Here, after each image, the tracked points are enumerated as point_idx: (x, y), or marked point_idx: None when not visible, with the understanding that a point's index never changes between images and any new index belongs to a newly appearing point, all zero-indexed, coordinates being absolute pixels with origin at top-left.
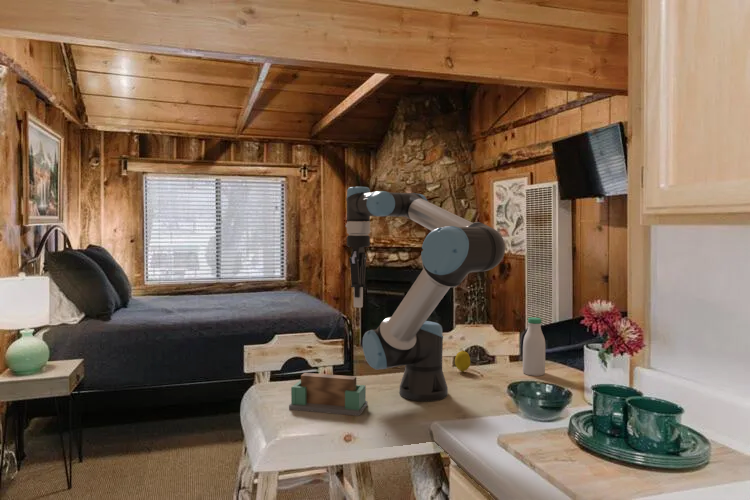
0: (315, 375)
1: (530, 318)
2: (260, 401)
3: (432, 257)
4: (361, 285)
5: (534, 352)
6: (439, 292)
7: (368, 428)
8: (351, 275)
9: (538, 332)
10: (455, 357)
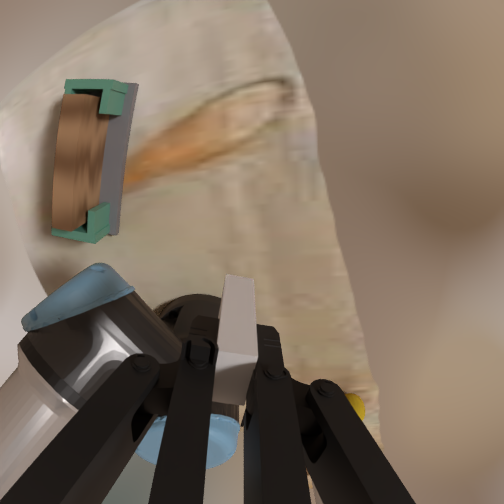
0: (65, 129)
1: None
2: (125, 12)
3: None
4: (246, 407)
5: (315, 490)
6: None
7: (29, 243)
8: (73, 422)
9: None
10: (354, 405)
